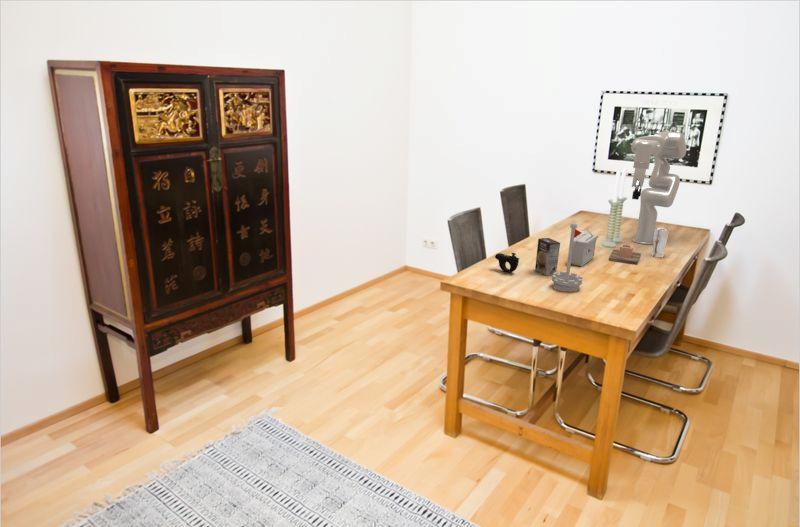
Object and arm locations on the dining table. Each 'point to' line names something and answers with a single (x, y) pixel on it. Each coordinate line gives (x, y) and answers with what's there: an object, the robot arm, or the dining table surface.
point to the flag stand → (568, 269)
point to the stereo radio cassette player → (583, 248)
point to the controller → (507, 258)
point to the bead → (625, 251)
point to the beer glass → (659, 241)
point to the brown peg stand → (617, 258)
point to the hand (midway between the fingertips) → (636, 197)
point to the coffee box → (547, 256)
